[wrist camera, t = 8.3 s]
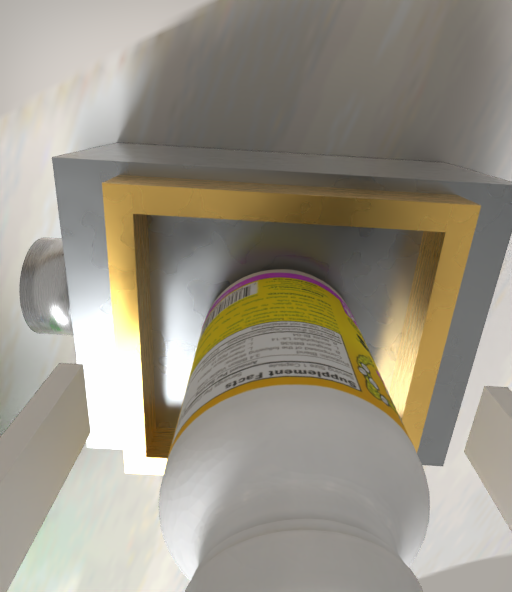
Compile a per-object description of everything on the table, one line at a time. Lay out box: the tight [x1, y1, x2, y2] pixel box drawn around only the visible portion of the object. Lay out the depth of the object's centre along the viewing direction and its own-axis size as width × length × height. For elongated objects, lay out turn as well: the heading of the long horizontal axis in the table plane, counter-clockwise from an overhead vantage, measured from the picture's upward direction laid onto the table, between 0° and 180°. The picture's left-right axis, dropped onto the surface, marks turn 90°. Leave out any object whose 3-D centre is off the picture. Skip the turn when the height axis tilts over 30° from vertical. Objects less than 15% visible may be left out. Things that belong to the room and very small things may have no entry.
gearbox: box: [20, 142, 512, 475], centre depth 22 cm, size 21×14×10 cm, turn 87°
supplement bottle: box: [159, 269, 430, 592], centre depth 13 cm, size 7×7×13 cm
